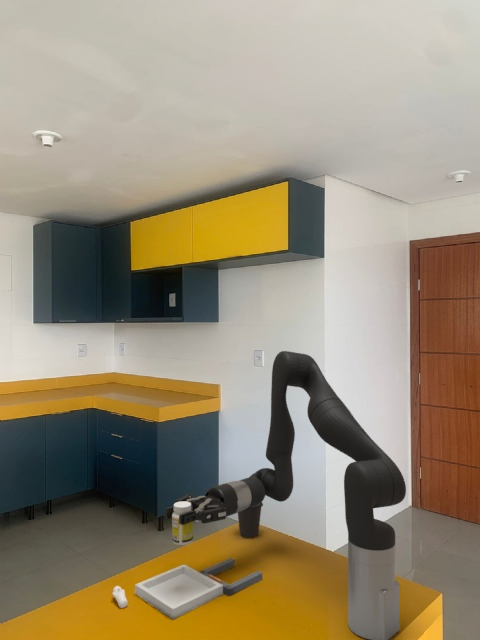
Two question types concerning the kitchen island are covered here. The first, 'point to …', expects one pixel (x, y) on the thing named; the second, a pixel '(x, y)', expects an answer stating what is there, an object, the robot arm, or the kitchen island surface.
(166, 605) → the tray
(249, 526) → the coffee cup
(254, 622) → the kitchen island surface
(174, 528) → the supplement bottle
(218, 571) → the holder
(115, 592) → the small white plastic part
